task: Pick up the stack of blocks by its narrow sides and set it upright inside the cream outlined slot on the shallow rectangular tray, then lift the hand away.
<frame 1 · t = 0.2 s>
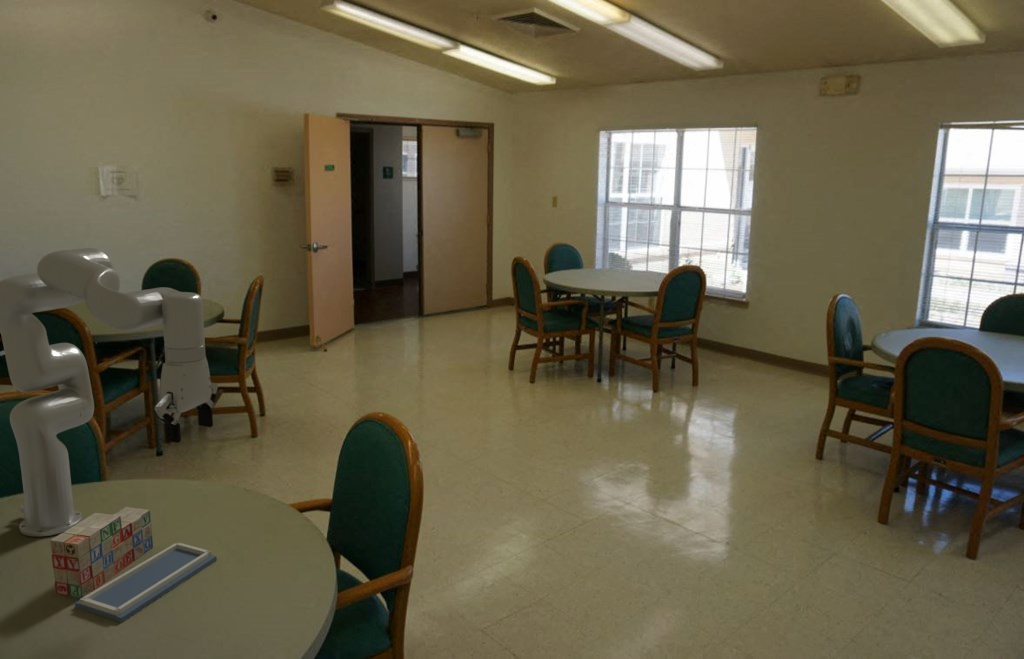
hand: (190, 433, 154), 31 cm above the table, tool pointing down, fingers open, 9 cm apart
stack of blocks: (107, 570, 158), on the table
shallow rectangular tray: (150, 582, 154), on the table
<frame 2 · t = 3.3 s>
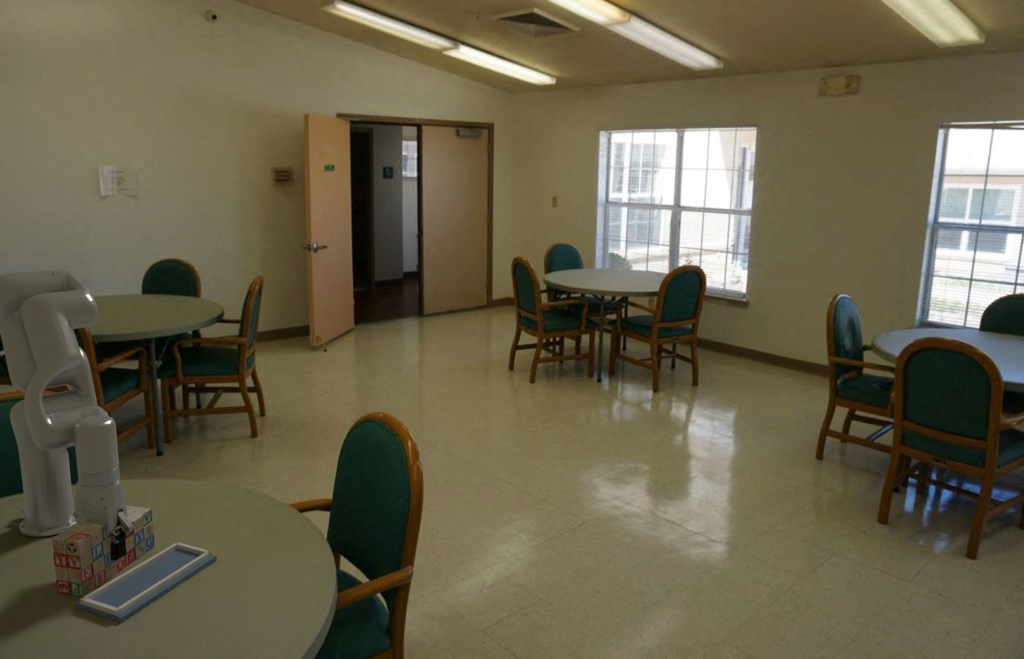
hand: (105, 553, 157), 4 cm above the table, tool pointing down, fingers closed on stack of blocks, 6 cm apart
stack of blocks: (109, 569, 159), on the table, touching gripper
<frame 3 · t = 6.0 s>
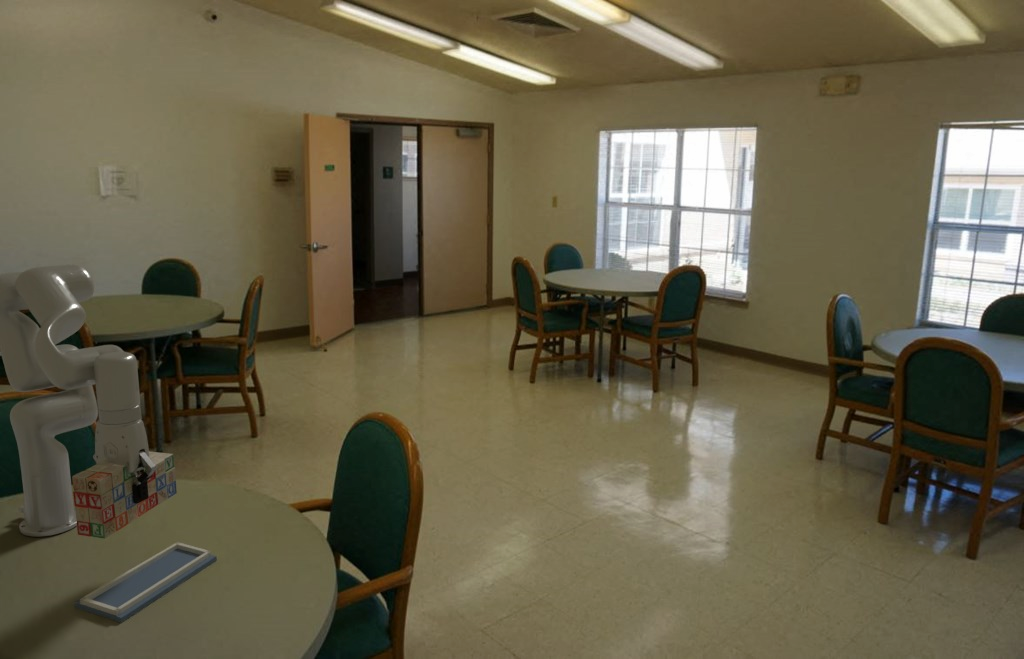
hand: (127, 496, 151), 18 cm above the table, tool pointing down, fingers closed on stack of blocks, 6 cm apart
stack of blocks: (130, 514, 153), point 14 cm above the table, touching gripper
when the fingers open (6 cm above the table, at t = 9.0 s): stack of blocks stays where it is, resting on shallow rectangular tray.
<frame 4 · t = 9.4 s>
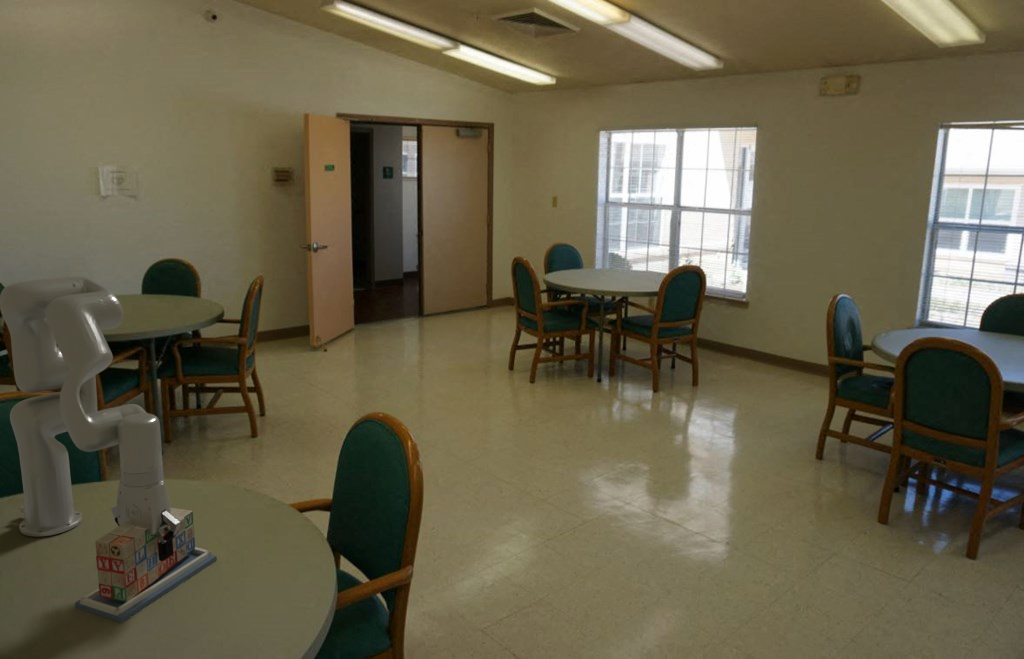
hand: (148, 552, 153), 7 cm above the table, tool pointing down, fingers open, 9 cm apart
stack of blocks: (150, 572, 154), point 2 cm above the table, touching shallow rectangular tray
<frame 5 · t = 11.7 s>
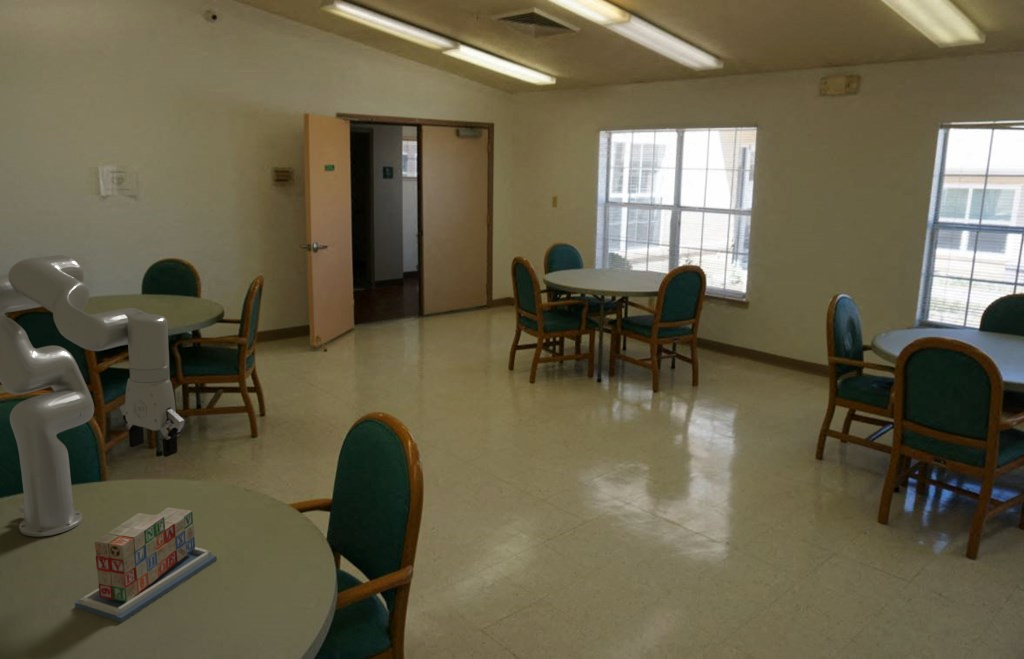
hand: (153, 449, 159), 25 cm above the table, tool pointing down, fingers open, 9 cm apart
nothing on the table moved.
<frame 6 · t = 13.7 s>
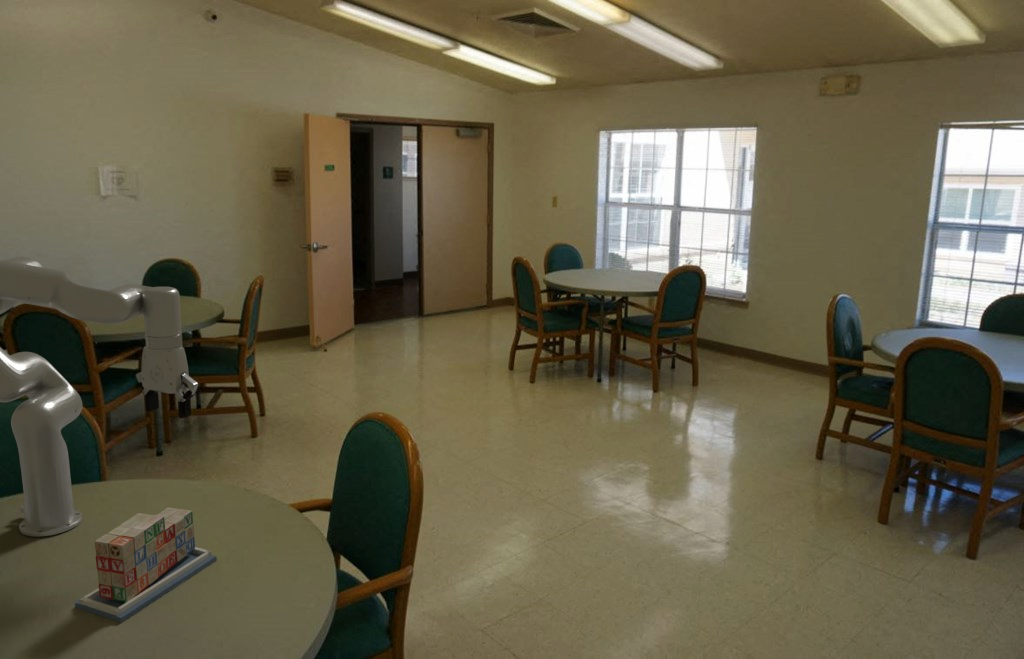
hand: (168, 413, 172), 28 cm above the table, tool pointing down, fingers open, 9 cm apart
nothing on the table moved.
at the end: stack of blocks 0.6 cm off-centre on the shallow rectangular tray, point 1.8 cm above the shallow rectangular tray's base; stack of blocks tilted 0°; the gripper is holding nothing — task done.
